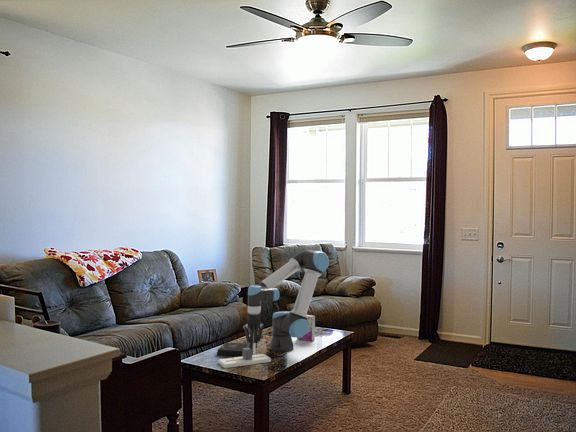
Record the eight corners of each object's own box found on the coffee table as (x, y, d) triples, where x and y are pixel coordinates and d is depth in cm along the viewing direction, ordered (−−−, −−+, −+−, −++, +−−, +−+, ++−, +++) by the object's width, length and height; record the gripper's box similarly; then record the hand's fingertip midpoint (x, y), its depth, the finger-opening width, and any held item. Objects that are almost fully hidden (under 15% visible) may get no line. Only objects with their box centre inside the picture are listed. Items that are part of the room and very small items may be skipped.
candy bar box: (296, 339, 345) (297, 315, 345) (300, 337, 349) (300, 313, 349) (311, 341, 340) (312, 316, 340) (315, 340, 344) (315, 315, 344)
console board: (263, 357, 302) (263, 353, 302) (270, 361, 294) (271, 357, 294) (218, 363, 289) (218, 359, 289) (224, 368, 281) (224, 364, 281)
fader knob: (248, 356, 295) (248, 347, 295) (252, 358, 291) (252, 349, 291) (242, 356, 293) (242, 348, 293) (245, 359, 289) (245, 350, 289)
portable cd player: (224, 348, 321) (224, 342, 320) (251, 350, 318) (251, 344, 318) (216, 356, 304) (216, 349, 304) (244, 358, 301) (244, 351, 301)
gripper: (261, 311, 300) (260, 351, 300) (241, 312, 294) (240, 353, 294) (267, 313, 293) (266, 354, 293) (246, 315, 287) (245, 357, 287)
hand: (253, 354), depth 294 cm, fingers closed
